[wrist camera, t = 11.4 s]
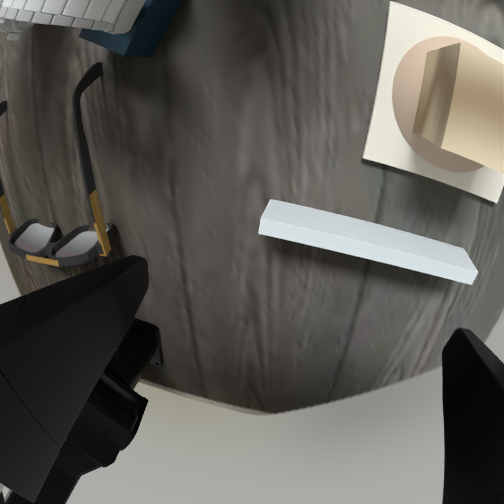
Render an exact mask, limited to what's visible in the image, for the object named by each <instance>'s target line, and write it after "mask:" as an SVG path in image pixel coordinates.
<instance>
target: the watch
mask: <svg viewBox="0 0 504 504" xmlns="http://www.w3.org/2000/svg"><path fill="white" fill-rule="evenodd" d="M182 1H183V0H0V31H1V32H9V34H8V37H7V39H8V40H19V38H20V35H21V32H23V31H26V30H28V29H29V28H31V27H32V26H33V25H34V23H39V24H51V25H60V26H72V27H78V28H82V30H81V33H80V35H79V37H81V38H83V39H86V40H88V41H90V42H93V43H95V44H98V45H100V46H102V47H105V48H107V49H109V50H112V51H114V52H116V53H119V54H121V55H123V56H140V57H152V55H153V53H154V51H155V49H156V47H157V45H158V43H159V41H160V39H161V38H162V36H163V34H164V32H165V30H166V28H167V27H168V25H169V23H170V21H171V20H172V18H173V16H174V15H175V13H176V11H177V10H178V8H179V6H180V5H181V3H182ZM62 12H63V14H62ZM54 14H55V15H54ZM61 14H62V15H61ZM74 17H75V18H74ZM72 22H73V23H72Z"/></svg>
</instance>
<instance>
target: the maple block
mask: <svg viewBox="0 0 504 504" xmlns="http://www.w3.org/2000/svg"><path fill="white" fill-rule="evenodd" d="M413 132H415V133H417V134H418V135H420V136H422V137H423V138H425V139H427V140H429V141H430V142H432V143H433V144H435V145H437V146H438V147H440V148H442V149H445V150H447V151H450V152H453V153H455V154H458V155H460V156H463V157H465V158H468V159H470V160H473V161H475V162H477V163H480V164H482V165H484V166H487V167H489V168H491V169H493V170H496V171H498V172H500V173H502V174H504V64H502V63H500V62H499V61H497V60H495V59H493V58H491V57H489V56H488V55H486V54H484V53H482V52H480V51H478V50H476V49H474V48H472V47H470V46H467V45H465V44H463V43H461V42H460V43H456V44H453V45H449V46H445V47H442V48H439V49H435V50H432V51H429V52H427V56H426V63H425V69H424V75H423V81H422V87H421V92H420V98H419V103H418V108H417V113H416V117H415V122H414V126H413Z"/></svg>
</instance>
